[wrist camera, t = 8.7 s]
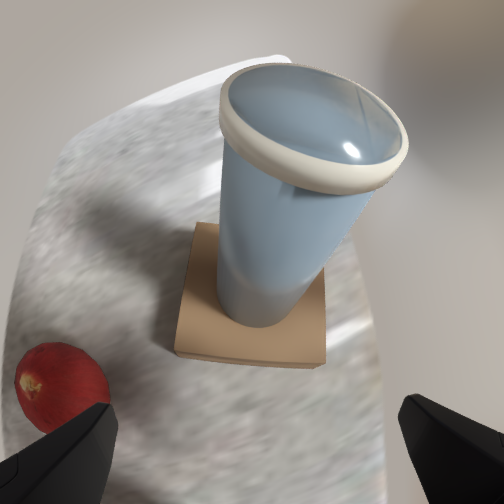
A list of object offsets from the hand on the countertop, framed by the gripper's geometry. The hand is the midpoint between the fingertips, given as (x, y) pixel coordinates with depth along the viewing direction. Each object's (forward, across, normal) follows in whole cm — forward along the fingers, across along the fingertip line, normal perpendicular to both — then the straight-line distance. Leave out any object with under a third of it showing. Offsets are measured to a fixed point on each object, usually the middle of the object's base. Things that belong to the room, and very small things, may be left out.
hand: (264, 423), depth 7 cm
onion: (+8, +11, +7) cm, 15 cm away
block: (+13, 0, +2) cm, 13 cm away
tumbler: (+11, 0, 0) cm, 11 cm away
